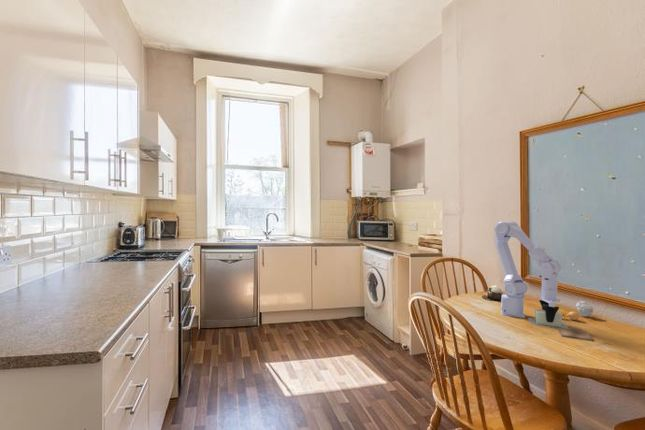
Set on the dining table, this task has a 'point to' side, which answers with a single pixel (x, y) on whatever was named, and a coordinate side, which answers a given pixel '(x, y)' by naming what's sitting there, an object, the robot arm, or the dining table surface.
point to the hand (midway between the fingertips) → (548, 319)
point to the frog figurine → (584, 309)
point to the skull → (493, 294)
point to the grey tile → (533, 322)
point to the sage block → (541, 319)
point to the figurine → (571, 315)
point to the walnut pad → (574, 334)
